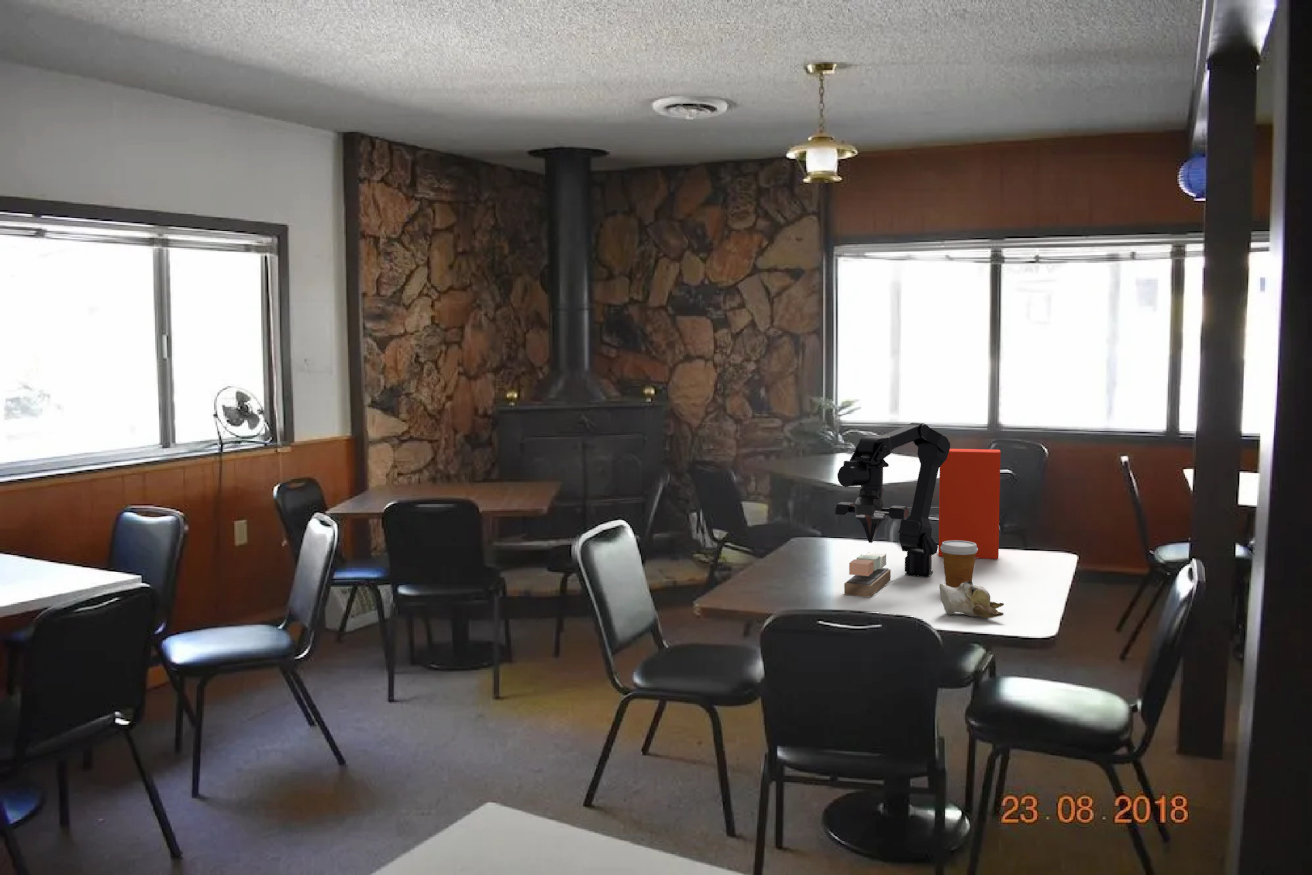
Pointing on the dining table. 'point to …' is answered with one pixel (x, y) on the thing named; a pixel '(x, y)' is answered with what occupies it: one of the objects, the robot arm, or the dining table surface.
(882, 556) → the key white
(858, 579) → the key panel
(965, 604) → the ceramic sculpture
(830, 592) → the dining table surface
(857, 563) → the key terracotta
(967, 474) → the file binder
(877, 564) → the key sage
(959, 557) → the disposable coffee cup
